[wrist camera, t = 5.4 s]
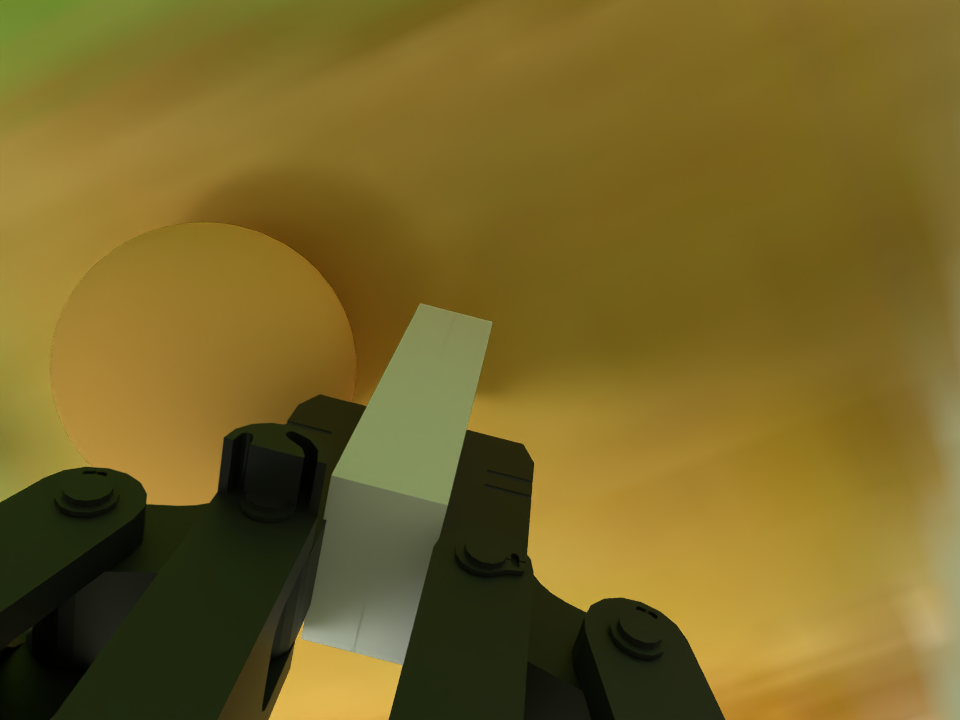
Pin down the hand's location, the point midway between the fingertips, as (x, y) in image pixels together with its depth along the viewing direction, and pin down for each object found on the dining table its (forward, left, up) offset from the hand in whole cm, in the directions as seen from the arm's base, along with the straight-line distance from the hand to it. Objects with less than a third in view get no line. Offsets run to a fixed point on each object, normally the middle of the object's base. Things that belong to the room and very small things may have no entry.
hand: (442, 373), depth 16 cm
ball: (+1, -4, +1) cm, 4 cm away
